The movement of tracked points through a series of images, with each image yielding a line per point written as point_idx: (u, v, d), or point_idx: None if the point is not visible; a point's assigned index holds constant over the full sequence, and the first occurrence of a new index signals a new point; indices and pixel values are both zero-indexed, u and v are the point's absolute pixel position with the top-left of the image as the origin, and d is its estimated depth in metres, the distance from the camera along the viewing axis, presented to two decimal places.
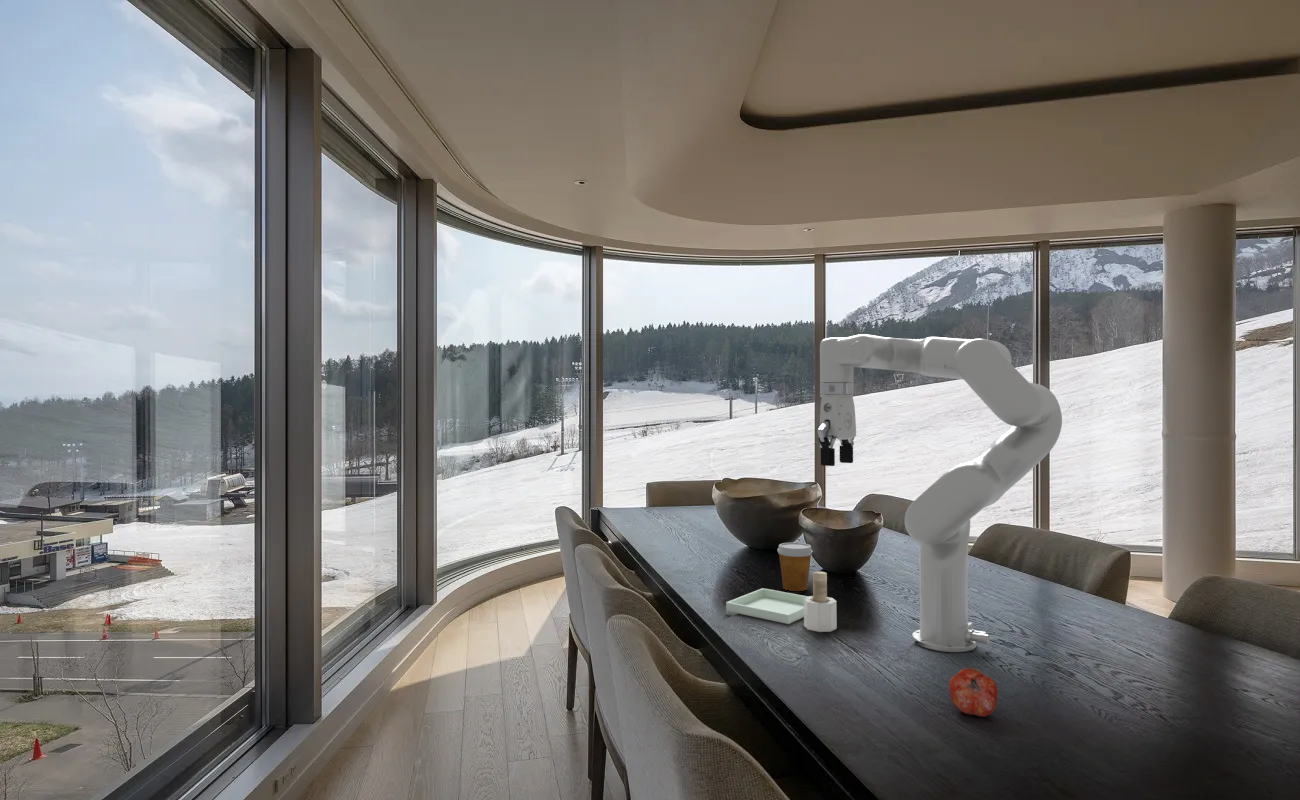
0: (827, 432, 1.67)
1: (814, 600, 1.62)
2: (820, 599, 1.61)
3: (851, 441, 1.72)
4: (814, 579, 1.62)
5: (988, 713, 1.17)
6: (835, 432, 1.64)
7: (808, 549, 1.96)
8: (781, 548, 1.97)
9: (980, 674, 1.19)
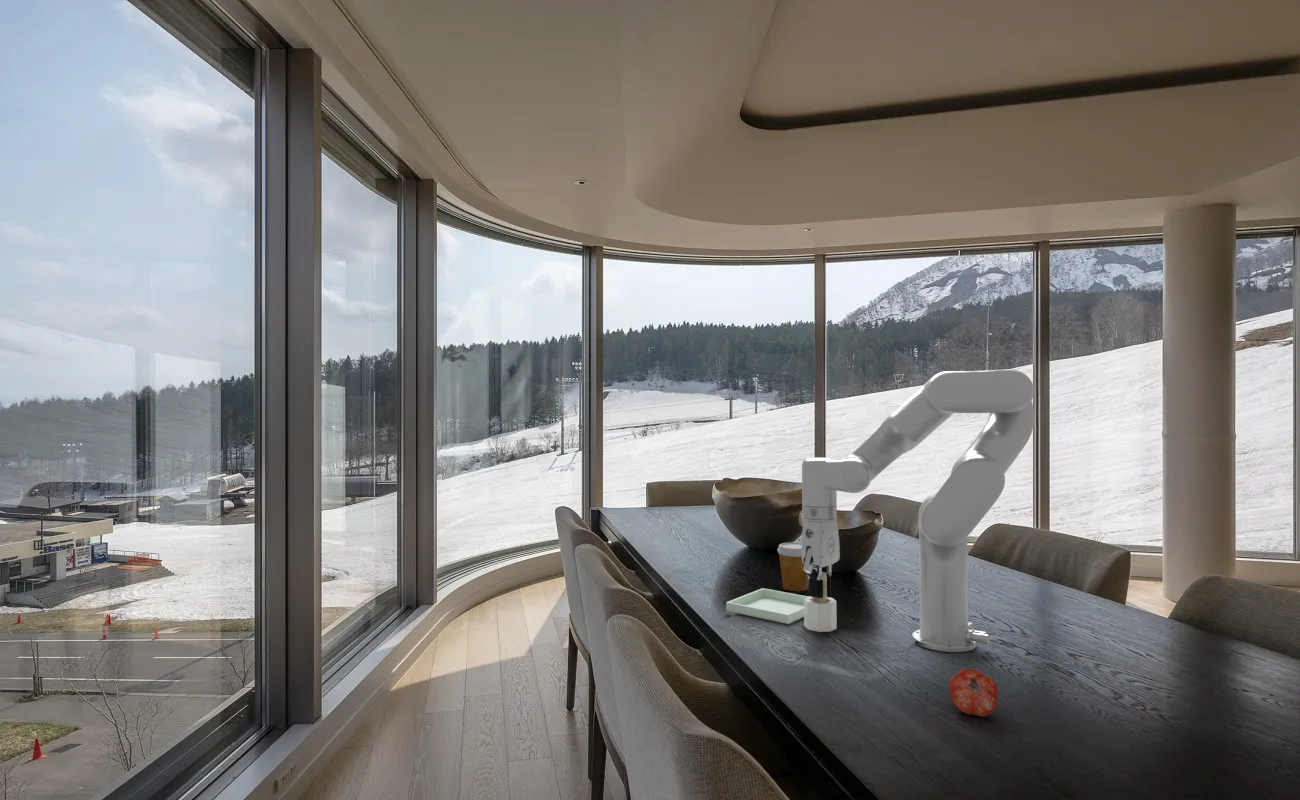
0: None
1: (814, 600, 1.62)
2: (820, 599, 1.61)
3: (829, 570, 1.63)
4: None
5: (988, 713, 1.17)
6: (817, 560, 1.57)
7: None
8: (781, 548, 1.97)
9: (980, 674, 1.19)
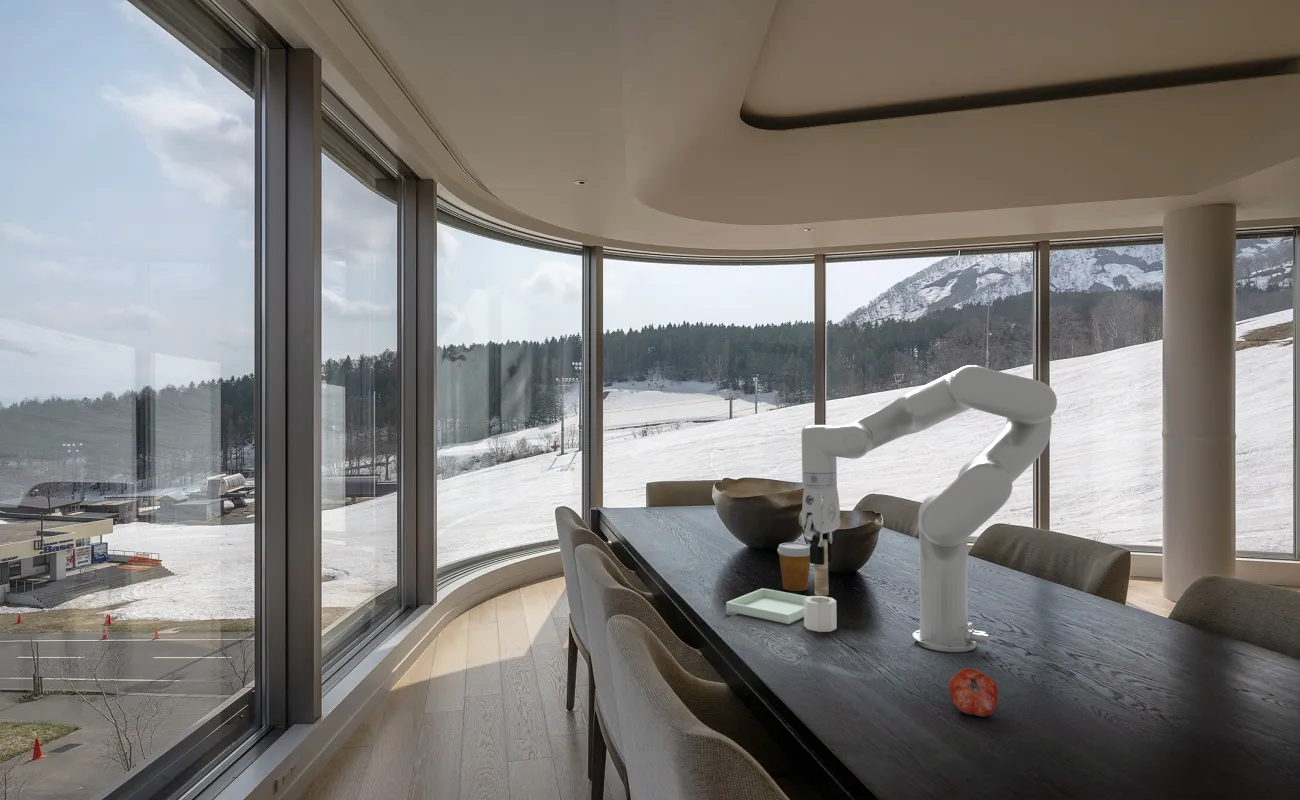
0: None
1: (815, 567, 1.62)
2: (821, 566, 1.61)
3: (830, 537, 1.63)
4: None
5: (988, 713, 1.17)
6: (818, 526, 1.57)
7: (808, 549, 1.96)
8: (781, 548, 1.97)
9: (980, 674, 1.19)
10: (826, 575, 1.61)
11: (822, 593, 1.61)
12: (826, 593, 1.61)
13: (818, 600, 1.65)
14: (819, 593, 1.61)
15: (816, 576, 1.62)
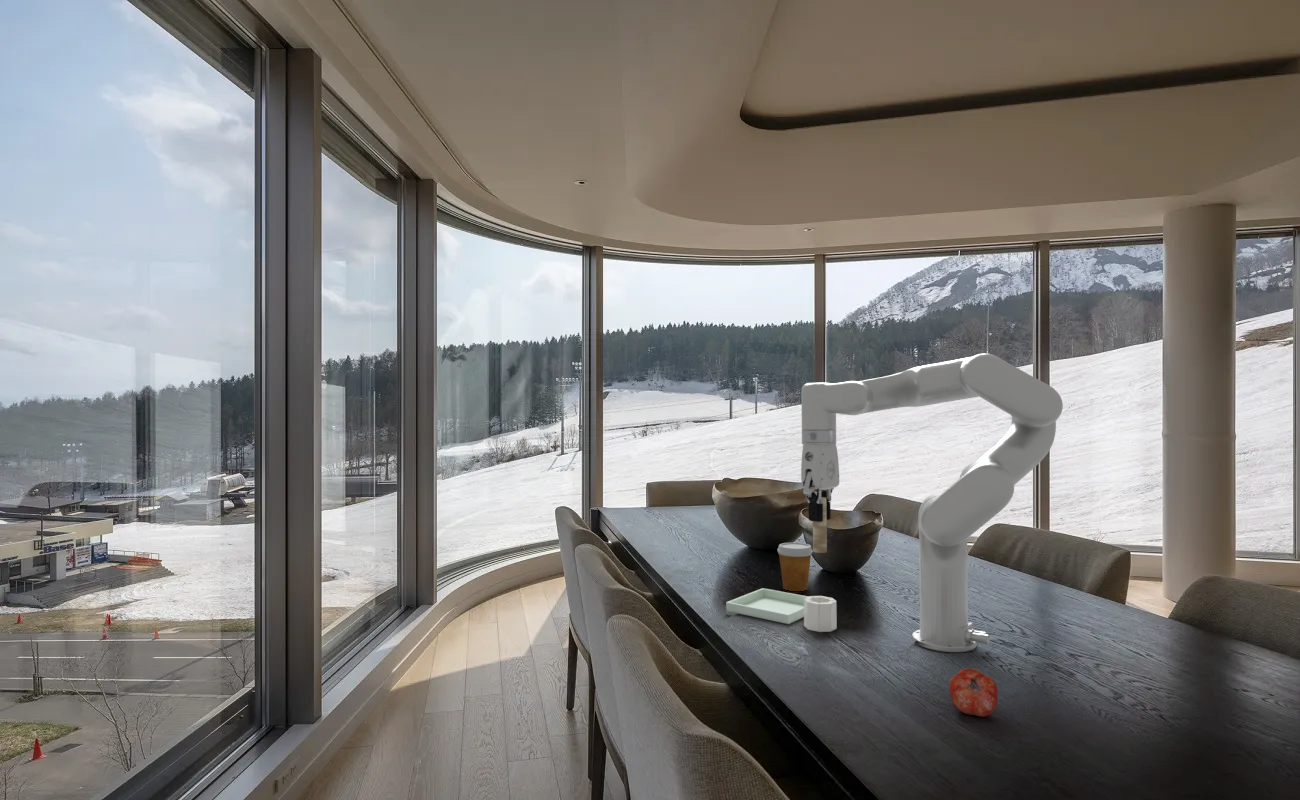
0: None
1: (814, 524, 1.62)
2: (819, 523, 1.61)
3: (829, 495, 1.63)
4: None
5: (988, 713, 1.17)
6: (817, 482, 1.57)
7: (808, 549, 1.96)
8: (781, 548, 1.97)
9: (980, 674, 1.19)
10: (825, 532, 1.61)
11: (820, 550, 1.61)
12: (824, 550, 1.61)
13: (818, 600, 1.65)
14: (817, 550, 1.61)
15: (815, 533, 1.62)
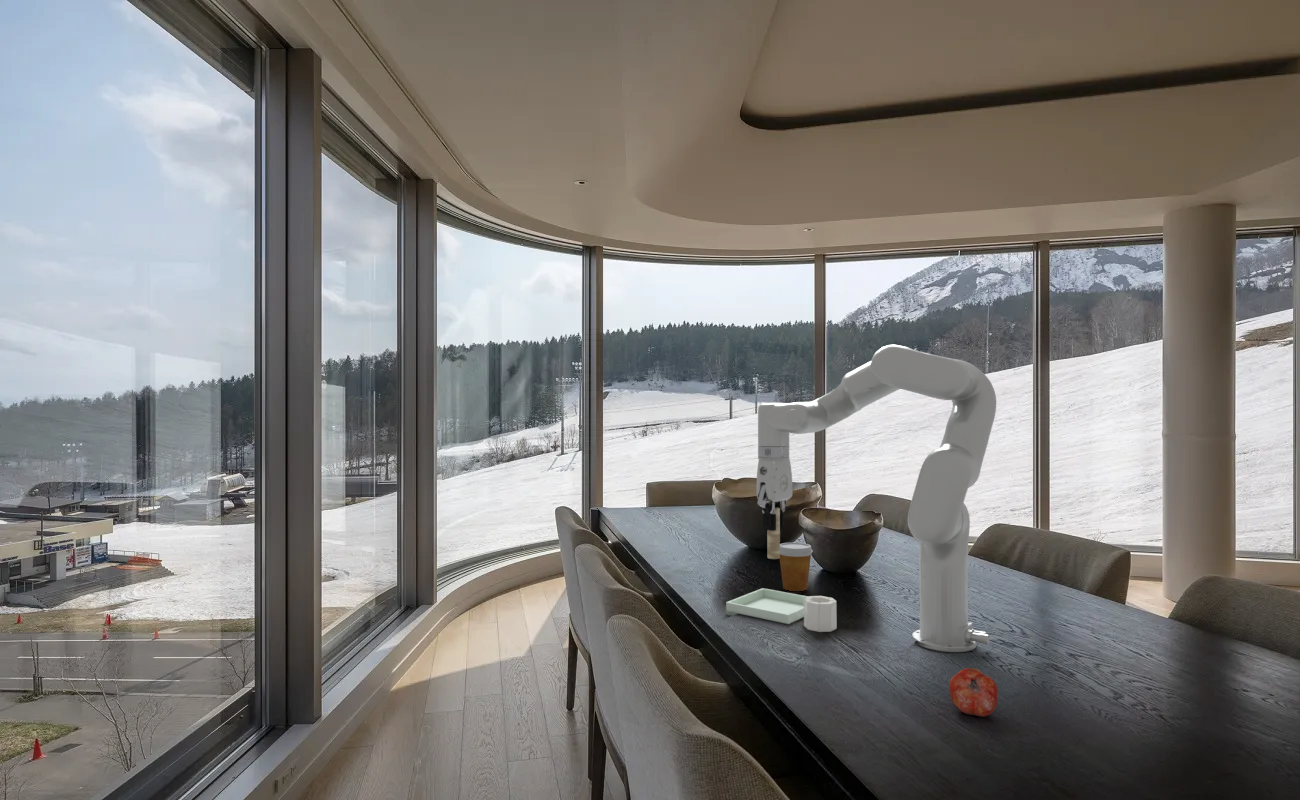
0: None
1: (768, 533, 1.76)
2: (773, 531, 1.75)
3: (783, 506, 1.78)
4: None
5: (988, 713, 1.17)
6: (770, 495, 1.72)
7: (808, 549, 1.96)
8: (781, 548, 1.97)
9: (980, 674, 1.19)
10: (778, 540, 1.76)
11: (774, 556, 1.75)
12: (777, 556, 1.76)
13: (818, 600, 1.65)
14: (771, 556, 1.76)
15: (768, 541, 1.76)
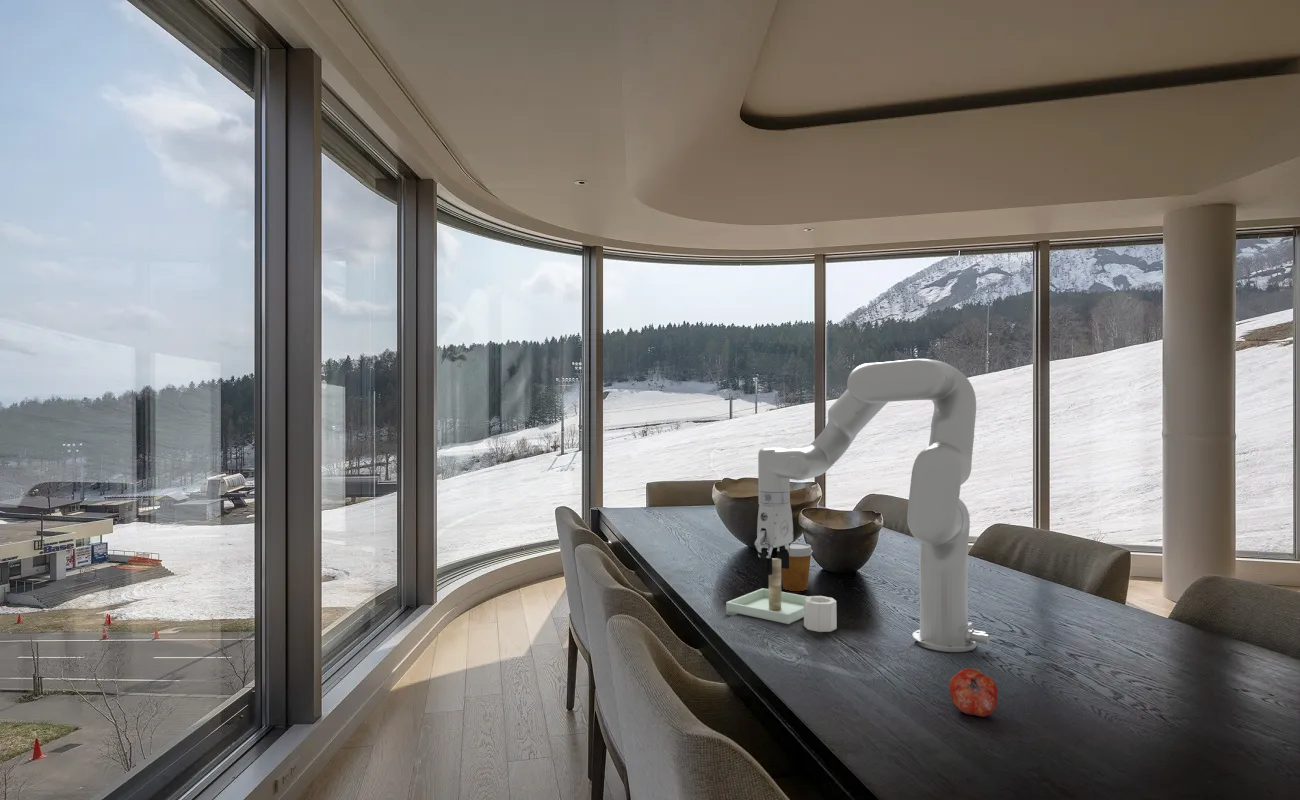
0: (765, 540, 1.75)
1: (769, 584, 1.76)
2: (774, 583, 1.75)
3: (787, 547, 1.79)
4: None
5: (988, 713, 1.17)
6: (771, 541, 1.72)
7: (808, 549, 1.96)
8: None
9: (980, 674, 1.19)
10: (779, 592, 1.76)
11: (775, 608, 1.75)
12: (779, 608, 1.75)
13: (818, 600, 1.65)
14: (772, 608, 1.75)
15: (770, 592, 1.76)
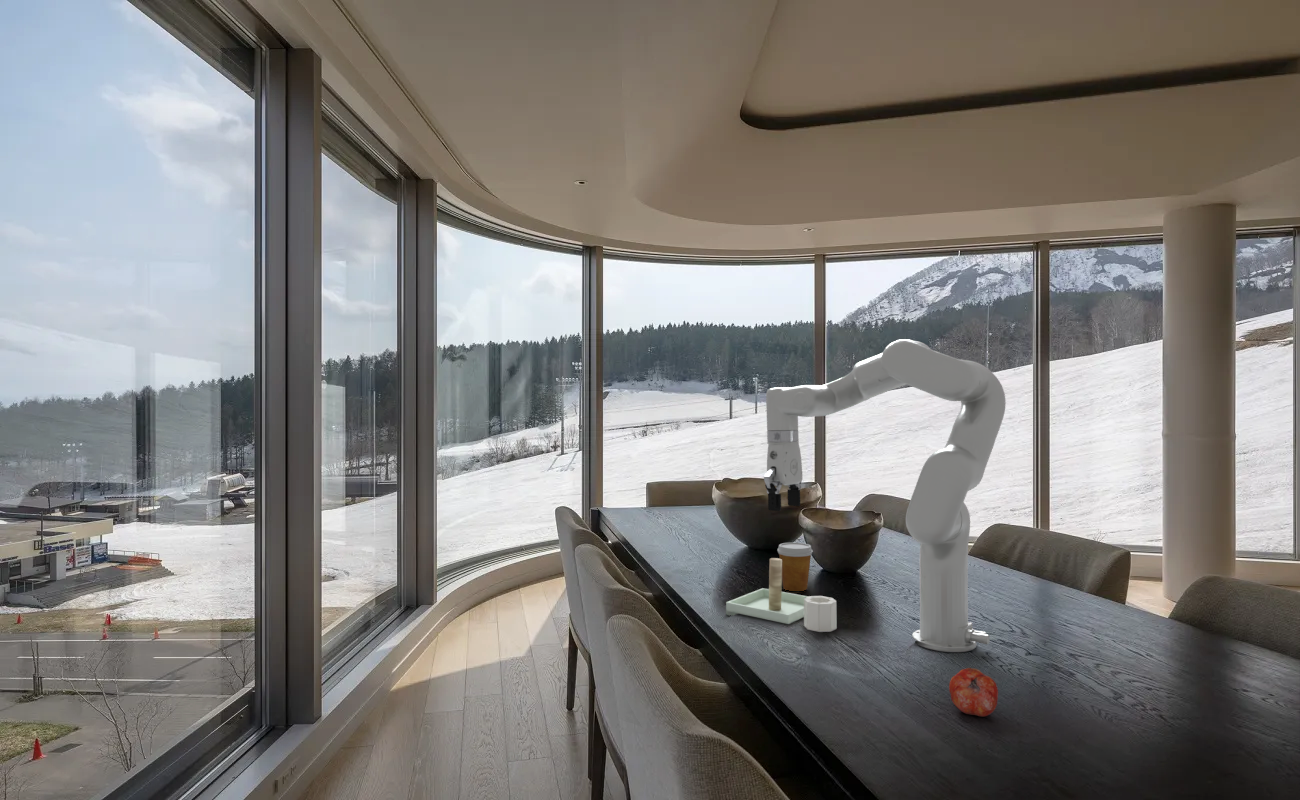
0: (774, 478, 1.75)
1: (770, 584, 1.76)
2: (775, 583, 1.75)
3: (798, 485, 1.80)
4: (770, 565, 1.76)
5: (988, 713, 1.17)
6: (781, 478, 1.72)
7: (808, 549, 1.96)
8: (781, 548, 1.97)
9: (980, 674, 1.19)
10: (779, 592, 1.75)
11: (775, 608, 1.75)
12: (779, 608, 1.75)
13: (818, 600, 1.65)
14: (772, 608, 1.75)
15: (770, 592, 1.76)
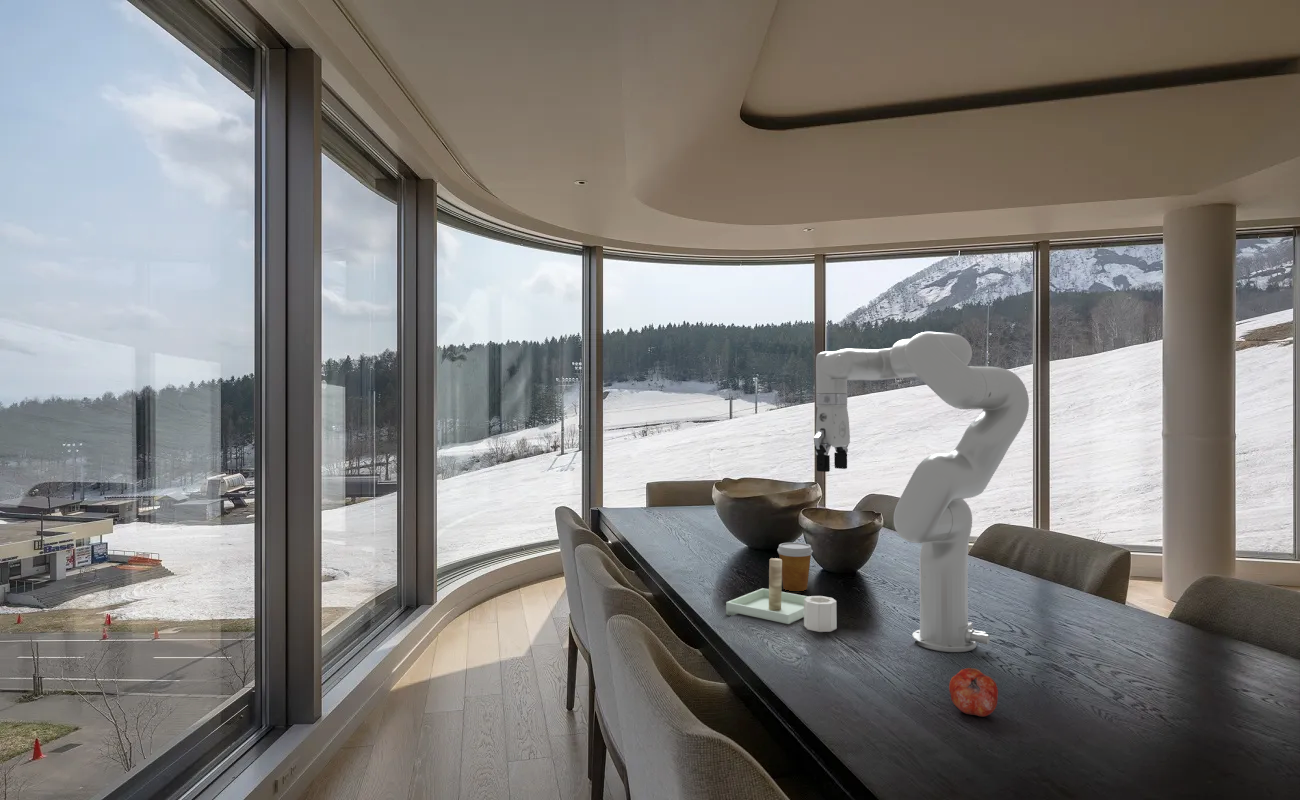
0: (823, 440, 1.79)
1: (770, 584, 1.76)
2: (775, 583, 1.75)
3: (845, 448, 1.84)
4: (770, 565, 1.76)
5: (988, 713, 1.17)
6: (830, 440, 1.76)
7: (808, 549, 1.96)
8: (781, 548, 1.97)
9: (980, 674, 1.19)
10: (779, 592, 1.75)
11: (775, 608, 1.75)
12: (779, 608, 1.75)
13: (818, 600, 1.65)
14: (772, 608, 1.75)
15: (770, 592, 1.76)
